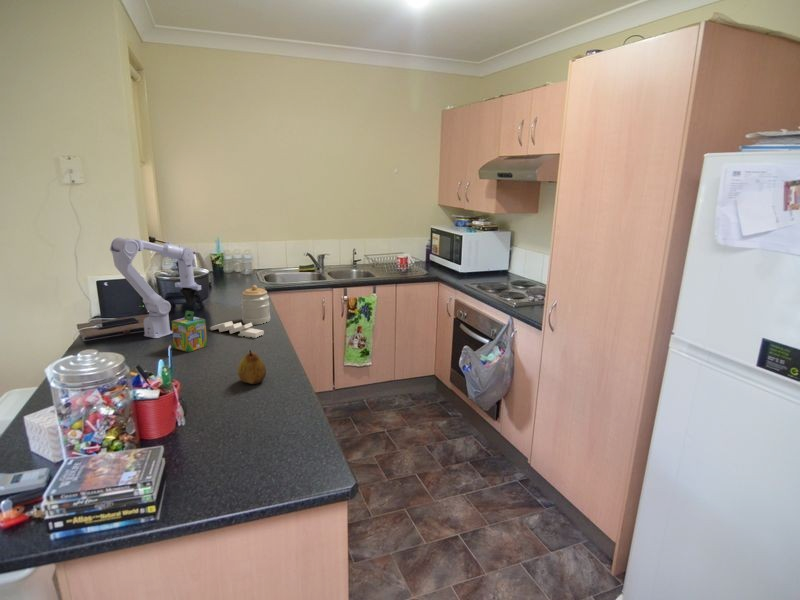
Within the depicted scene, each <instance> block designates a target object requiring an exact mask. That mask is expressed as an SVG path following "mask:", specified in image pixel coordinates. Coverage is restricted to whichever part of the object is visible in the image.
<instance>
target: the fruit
mask: <svg viewBox="0 0 800 600" xmlns="http://www.w3.org/2000/svg"><path fill="white" fill-rule="evenodd" d="M265 365H266V364H265V363H264V362H263V360H262V359H261V358H260V356H259V355H258V354H257V353H255V352H252V350H250V349H249V352H248V353H246V354H245V355H244V357H243V358H242V359H241V360H240V362H239V364H238V367H237V375H238V378H239V379H240V380H241V381H242V382H243V383H245V384H251V385H257V384H259V383H262V382H263V381H264V379H265V377H266V374H267V368H266V366H265ZM241 381H240V382H241Z"/></svg>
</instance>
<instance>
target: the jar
mask: <svg viewBox="0 0 800 600" xmlns="http://www.w3.org/2000/svg"><path fill="white" fill-rule="evenodd" d="M269 298H270V296H269V294H268V291H267V290H265V288H260V287H258V286H257V285H256V284H253V285H252V286H251V288H247V289H245V290H244V291H242V296H241V297H240V300H241V304H240V306H241V315H242V316H241V321H242V324H244V325H246V324H248V323H251V322H252V325H253V326H255V325H264V324H267V323H270V321H271V312H270V311H271V309H270V301H269ZM266 322H267V323H266ZM263 323H264V324H263Z"/></svg>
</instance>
